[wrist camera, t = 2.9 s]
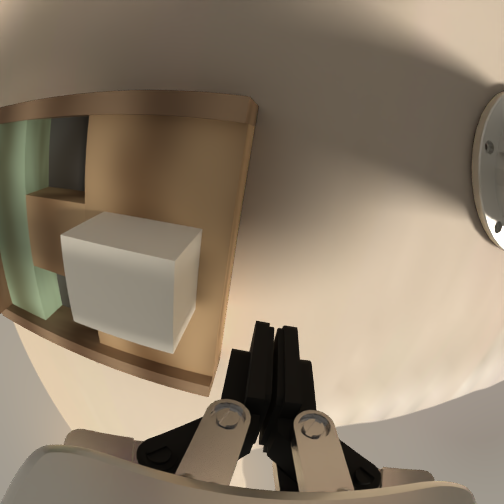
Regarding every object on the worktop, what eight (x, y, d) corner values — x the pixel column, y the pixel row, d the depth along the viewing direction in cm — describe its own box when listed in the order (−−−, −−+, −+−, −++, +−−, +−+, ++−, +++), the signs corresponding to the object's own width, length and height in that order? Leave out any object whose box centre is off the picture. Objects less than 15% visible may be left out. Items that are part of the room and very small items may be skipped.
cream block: (202, 229, 15) (174, 261, 11) (195, 309, 17) (173, 354, 13) (104, 211, 15) (60, 234, 11) (108, 286, 17) (73, 320, 13)
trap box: (258, 106, 15) (246, 93, 10) (219, 359, 22) (205, 407, 17) (12, 110, 16) (-30, 114, 11) (26, 295, 23) (-4, 320, 18)
